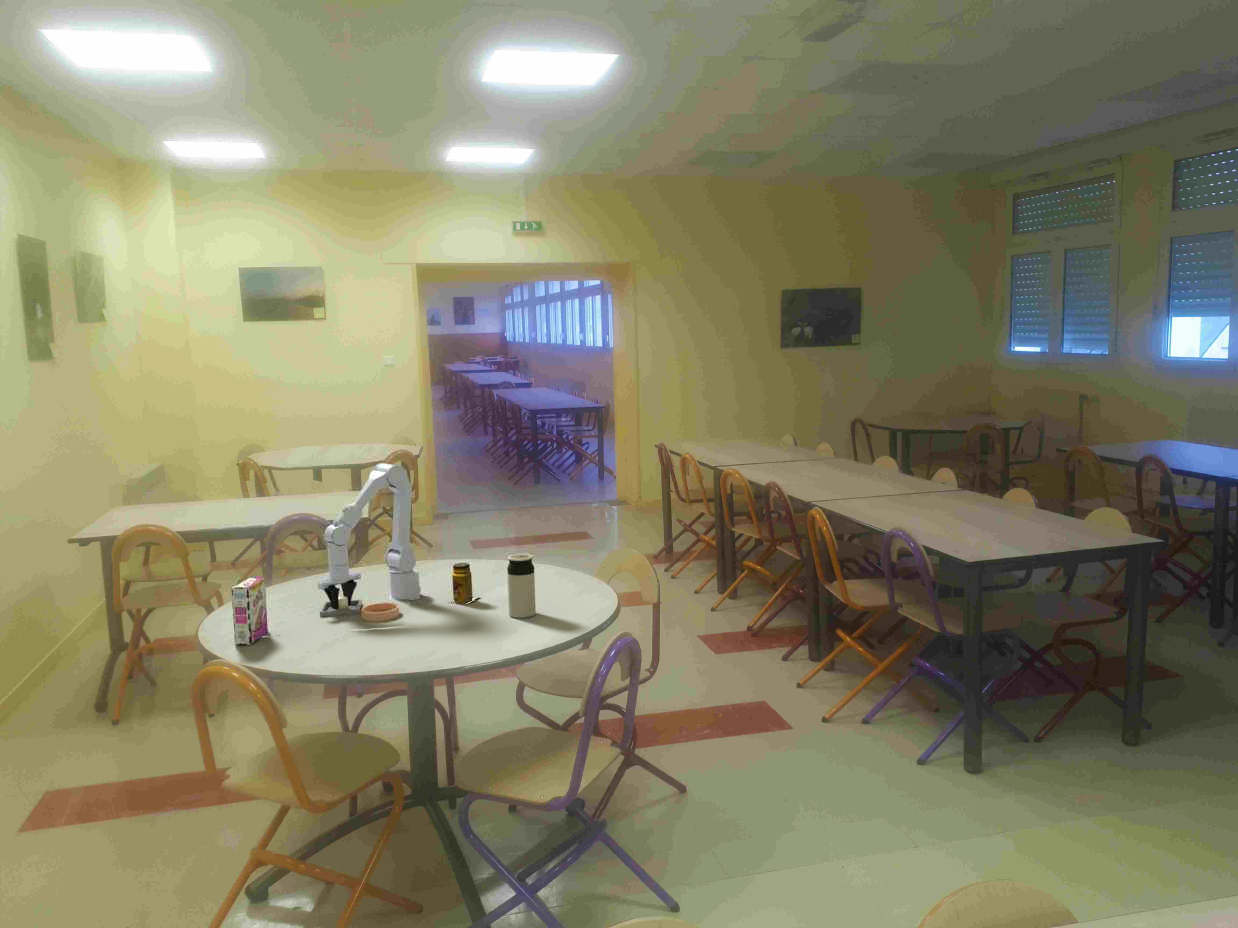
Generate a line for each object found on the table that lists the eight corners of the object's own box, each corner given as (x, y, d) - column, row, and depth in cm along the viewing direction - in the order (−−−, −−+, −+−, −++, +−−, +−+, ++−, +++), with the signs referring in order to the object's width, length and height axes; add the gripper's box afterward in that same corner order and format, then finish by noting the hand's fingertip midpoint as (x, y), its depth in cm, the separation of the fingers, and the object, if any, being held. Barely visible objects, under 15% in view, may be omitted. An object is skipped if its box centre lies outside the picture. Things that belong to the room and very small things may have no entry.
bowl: (400, 610, 274) (400, 601, 274) (398, 621, 263) (397, 611, 263) (364, 613, 272) (363, 603, 272) (360, 623, 262) (359, 614, 261)
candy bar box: (252, 645, 244) (247, 587, 242) (234, 645, 244) (229, 587, 242) (269, 632, 255) (265, 577, 253) (252, 632, 255) (248, 577, 253)
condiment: (447, 603, 282) (446, 566, 280) (462, 595, 290) (460, 559, 288) (467, 605, 279) (466, 567, 277) (481, 597, 287) (480, 561, 285)
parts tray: (362, 605, 280) (361, 599, 280) (358, 615, 270) (357, 609, 269) (325, 608, 278) (325, 602, 278) (320, 618, 268) (319, 612, 267)
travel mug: (531, 619, 263) (529, 559, 261) (505, 618, 265) (503, 559, 262) (538, 611, 271) (537, 553, 268) (513, 610, 272) (511, 552, 270)
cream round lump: (349, 607, 276) (348, 595, 276) (347, 610, 272) (346, 599, 272) (335, 607, 276) (334, 596, 275) (333, 611, 272) (333, 600, 271)
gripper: (349, 557, 280) (352, 599, 282) (310, 567, 268) (313, 610, 270) (364, 560, 276) (366, 602, 278) (324, 570, 264) (327, 614, 266)
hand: (341, 606), depth 274 cm, fingers closed on cream round lump, 4 cm apart
